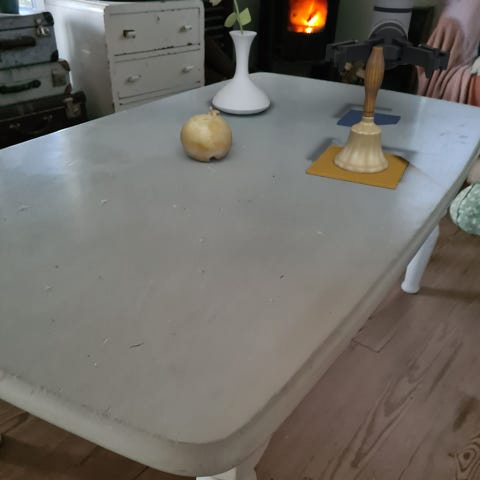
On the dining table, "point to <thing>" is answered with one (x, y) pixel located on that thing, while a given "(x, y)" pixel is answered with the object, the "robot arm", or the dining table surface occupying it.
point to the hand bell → (366, 126)
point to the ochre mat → (381, 179)
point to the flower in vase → (240, 73)
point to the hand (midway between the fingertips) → (385, 65)
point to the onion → (206, 136)
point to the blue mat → (356, 117)
